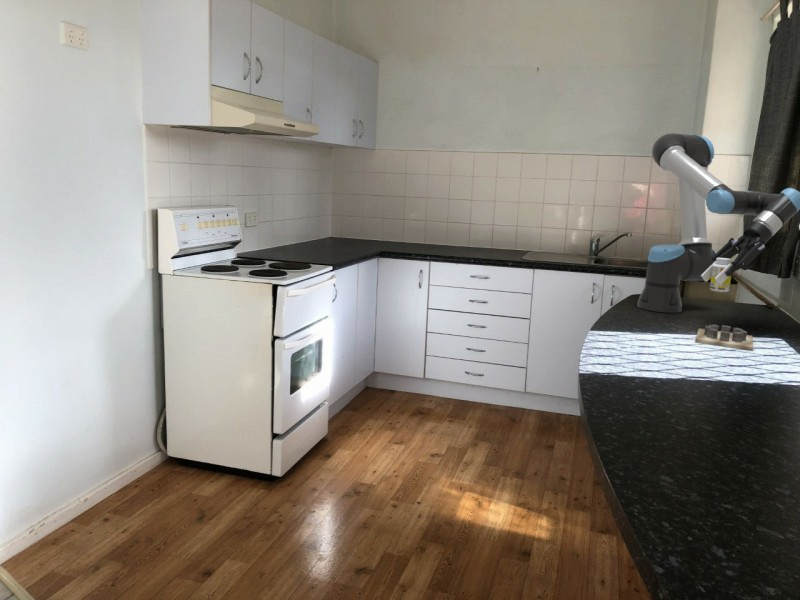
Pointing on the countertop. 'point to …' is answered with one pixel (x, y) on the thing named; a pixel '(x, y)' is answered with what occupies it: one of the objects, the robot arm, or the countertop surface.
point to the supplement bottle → (716, 269)
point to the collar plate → (723, 343)
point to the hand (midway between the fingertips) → (710, 280)
